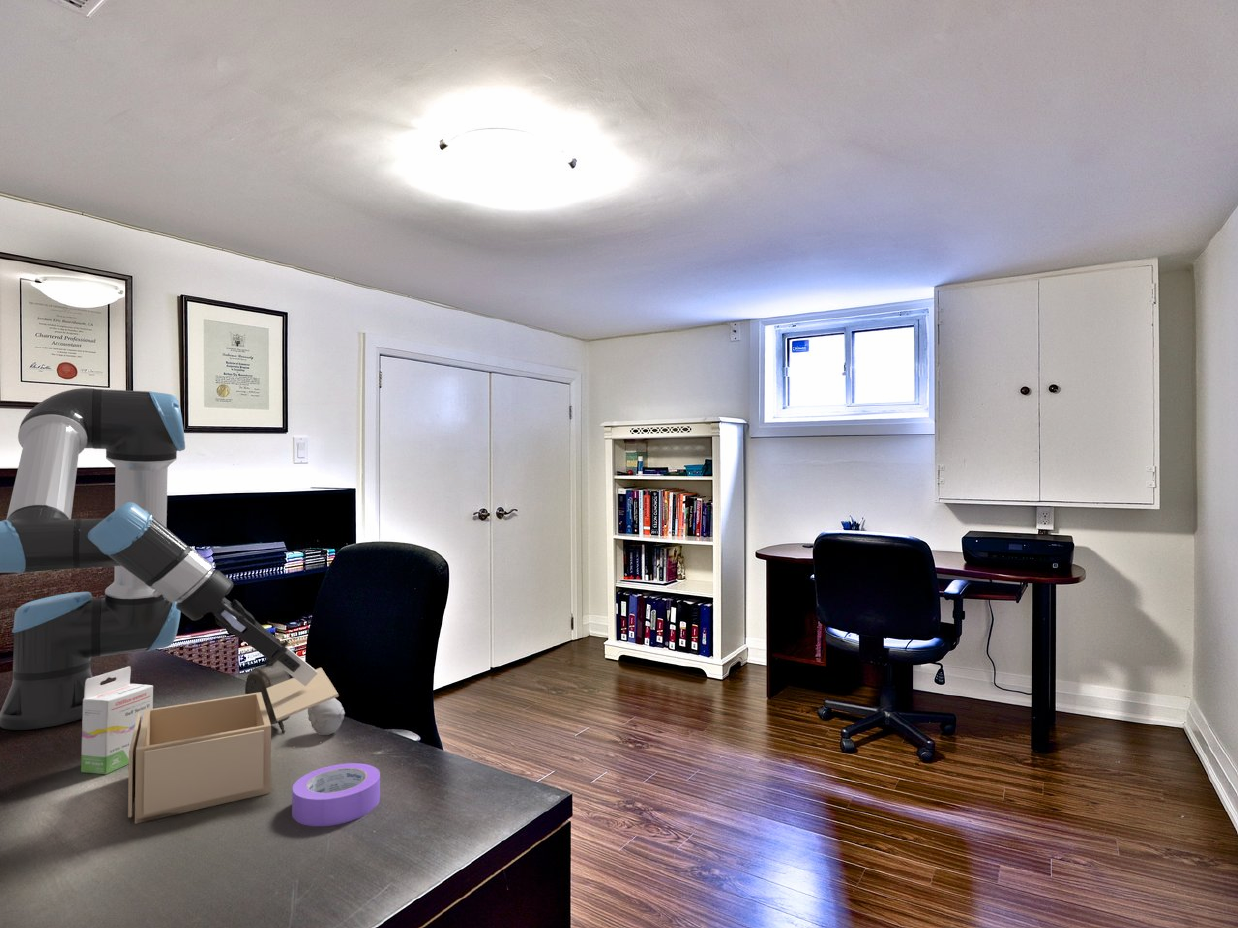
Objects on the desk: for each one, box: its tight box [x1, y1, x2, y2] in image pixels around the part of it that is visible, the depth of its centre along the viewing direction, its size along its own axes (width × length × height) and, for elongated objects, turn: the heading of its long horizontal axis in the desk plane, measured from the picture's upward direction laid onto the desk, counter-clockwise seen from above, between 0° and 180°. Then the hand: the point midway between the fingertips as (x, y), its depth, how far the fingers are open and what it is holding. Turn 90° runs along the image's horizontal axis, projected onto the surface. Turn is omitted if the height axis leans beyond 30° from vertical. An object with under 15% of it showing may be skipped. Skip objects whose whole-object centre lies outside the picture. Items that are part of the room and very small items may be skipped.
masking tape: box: [291, 762, 381, 827], centre depth 96 cm, size 12×12×4 cm
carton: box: [127, 692, 272, 824], centre depth 102 cm, size 20×17×10 cm
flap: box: [266, 667, 340, 721], centre depth 110 cm, size 17×1×9 cm
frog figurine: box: [307, 697, 346, 736], centre depth 122 cm, size 6×7×7 cm
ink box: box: [80, 666, 154, 775], centre depth 110 cm, size 9×5×15 cm, turn 168°
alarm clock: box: [244, 655, 291, 734], centre depth 124 cm, size 11×5×16 cm, turn 52°
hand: (310, 678), depth 111 cm, fingers closed
